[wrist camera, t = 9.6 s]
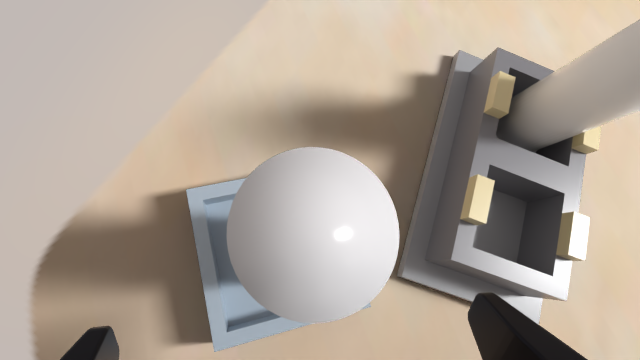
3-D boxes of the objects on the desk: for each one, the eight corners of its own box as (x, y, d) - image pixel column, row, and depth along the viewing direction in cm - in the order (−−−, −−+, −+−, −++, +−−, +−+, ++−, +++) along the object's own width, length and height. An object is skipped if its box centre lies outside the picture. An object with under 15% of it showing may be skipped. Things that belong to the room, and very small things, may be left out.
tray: (359, 302, 21) (370, 306, 19) (218, 342, 19) (214, 351, 17) (326, 170, 23) (334, 161, 20) (192, 197, 21) (185, 189, 19)
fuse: (536, 156, 25) (836, 49, 12) (488, 163, 24) (759, 55, 11) (521, 104, 25) (790, -49, 13) (473, 109, 24) (713, -50, 12)
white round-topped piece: (324, 258, 21) (431, 252, 8) (268, 299, 20) (293, 364, 7) (286, 203, 21) (335, 117, 9) (229, 241, 20) (190, 207, 8)
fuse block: (528, 322, 23) (595, 336, 18) (396, 276, 22) (432, 279, 18) (563, 102, 27) (624, 70, 23) (453, 56, 26) (494, 14, 22)
